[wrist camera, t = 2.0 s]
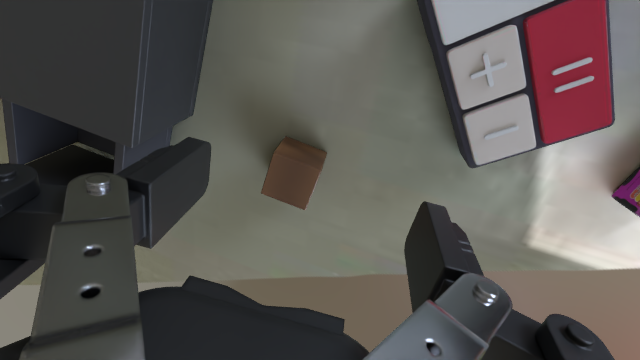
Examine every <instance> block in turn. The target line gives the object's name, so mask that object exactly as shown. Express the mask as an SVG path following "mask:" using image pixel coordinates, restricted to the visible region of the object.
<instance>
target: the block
mask: <svg viewBox="0 0 640 360" xmlns="http://www.w3.org/2000/svg"><path fill="white" fill-rule="evenodd" d="M326 155H327V152H325V151H322V150H320V149H317V148H315V147H312V146H310V145H307V144H305V143H302V142H299V141H297V140H294V139H292V138H289V137H287V136H285V137H284V139H283V140H282V142H281V143H280V144H279V146H278V147H277V149H276V150H275V151H274V153H273V156H272V159H271V162H270V166H269V169H268V172H267V175H266V178H265V181H264V185H263V188H262V191H261V194H264V195H267V196H269V197H272V198H275V199H277V200H280V201H282V202H285V203H288V204H290V205H293V206H295V207H298V208H301V209H303V210H306V208H307V205H308V203H309V200H310V198H311V196H312V193H313V191H314V188H315V186H316V183H317V181H318V178H319V176H320V173H321V171H322V168H323V164H324V161H325V158H326Z"/></svg>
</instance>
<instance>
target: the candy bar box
mask: <svg viewBox="0 0 640 360" xmlns="http://www.w3.org/2000/svg"><path fill="white" fill-rule="evenodd" d="M612 197H613V198H614V199H615V200H617V201H618V202H619V203H621V204H622V205H623V206H625V207H626V208H627V209H629V210H630V211H632V212H633V213H635V214H636V215H637V216H639V217H640V167H639V168H638V169H637V170H636V171H635V172H634V173H633V174H632V175H631V176H630V177H629V178H628V179H627V180H626V181H625V182H624V183H623V184H622V185H621V186H620V187H619V188H618V189H617V190H616V191H615V192H614V193H613V194H612Z"/></svg>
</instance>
